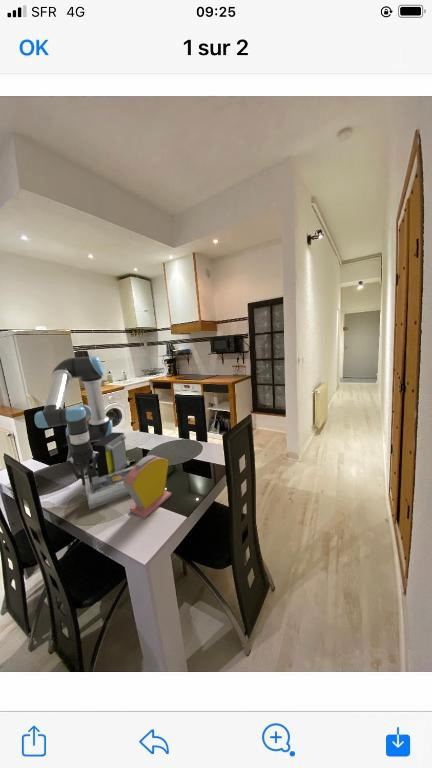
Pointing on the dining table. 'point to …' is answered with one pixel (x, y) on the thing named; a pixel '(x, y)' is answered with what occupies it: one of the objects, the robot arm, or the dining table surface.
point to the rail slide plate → (108, 490)
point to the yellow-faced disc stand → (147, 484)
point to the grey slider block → (98, 482)
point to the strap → (114, 480)
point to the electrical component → (111, 454)
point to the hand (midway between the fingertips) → (88, 489)
